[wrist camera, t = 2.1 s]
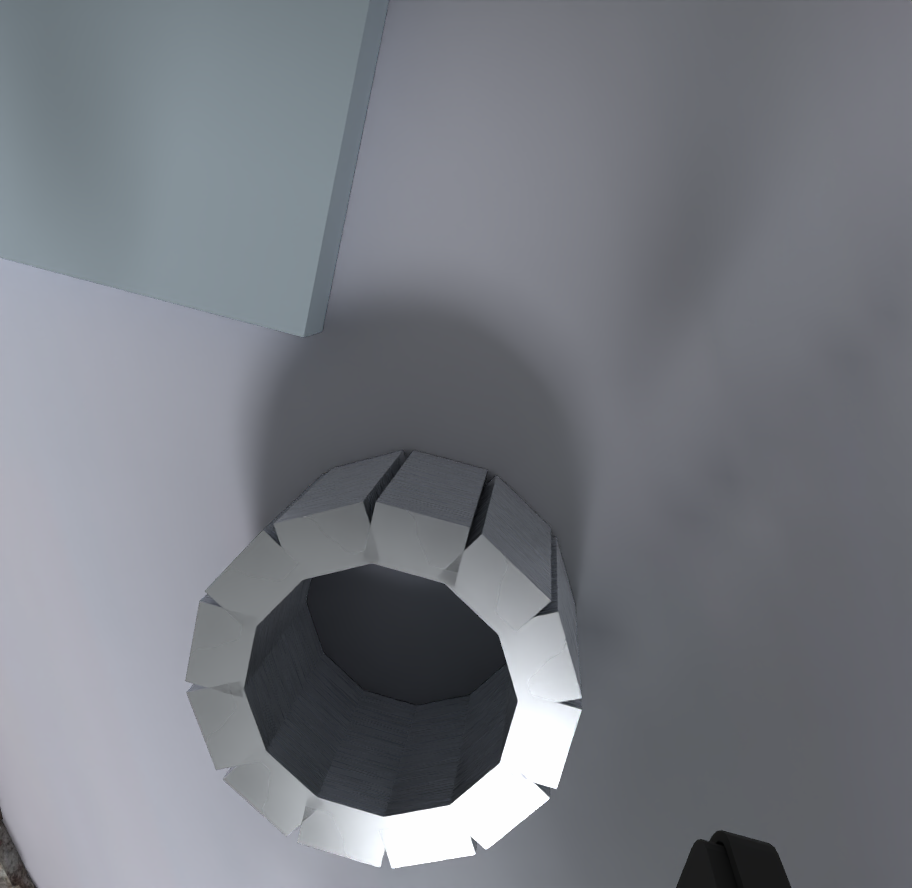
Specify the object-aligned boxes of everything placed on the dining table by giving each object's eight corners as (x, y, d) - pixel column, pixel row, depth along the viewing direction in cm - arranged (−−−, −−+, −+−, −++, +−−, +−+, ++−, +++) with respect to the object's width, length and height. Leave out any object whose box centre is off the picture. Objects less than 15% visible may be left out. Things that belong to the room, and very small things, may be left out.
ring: (609, 502, 15) (626, 570, 12) (524, 779, 17) (518, 909, 14) (294, 417, 16) (225, 460, 12) (239, 697, 17) (163, 803, 14)
